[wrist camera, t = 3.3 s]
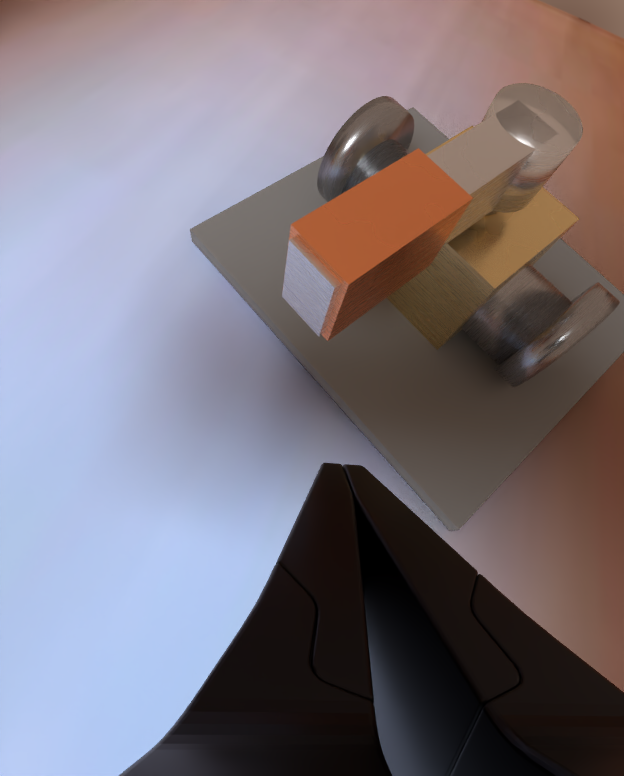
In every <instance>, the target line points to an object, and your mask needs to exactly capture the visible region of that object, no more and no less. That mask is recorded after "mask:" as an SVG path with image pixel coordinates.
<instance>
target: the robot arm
mask: <svg viewBox="0 0 624 776" xmlns="http://www.w3.org/2000/svg"><path fill="white" fill-rule="evenodd" d="M477 574H478V572H477V570H476V569H474V568H473V567H472V566H471V565H470V564H469V563H468V562H467V561H466V560H465V559H464V558H463V557H461V556H460V555H459V554H458V553H457V552H456V551H455V550H454V549H453V548H452V547H451V546H449V545H448V544H447V543H446V542H445V541H444V540H443V539H442V538H441V537H440V536H439V535H437V534H436V533H435V532H434V531H433V530H432V529H431V528H430V527H429V526H428V525H427V524H425V523H424V522H423V521H422V520H421V519H420V518H419V517H418V516H417V515H416V514H415V513H413V512H412V511H411V510H410V509H409V508H408V507H407V506H406V505H405V504H404V503H403V502H401V501H400V500H399V499H398V498H397V497H396V496H395V495H394V494H393V493H392V492H391V491H389V490H388V489H387V488H386V487H385V486H384V485H383V484H382V483H381V482H380V481H379V480H377V479H376V478H375V477H374V476H373V475H372V474H371V473H370V472H369V471H368V470H367V469H365V468H364V467H363V466H360V465H343V467H342V465H341V464H333V463H323V464H322V465H321V467H320V469H319V471H318V474H317V476H316V478H315V480H314V482H313V484H312V487H311V489H310V491H309V493H308V495H307V497H306V500H305V502H304V504H303V506H302V508H301V510H300V513H299V515H298V517H297V519H296V521H295V523H294V526H293V528H292V530H291V532H290V534H289V536H288V539H287V541H286V543H285V545H284V547H283V549H282V552H281V554H280V556H279V558H278V560H277V562H276V565H275V566H274V568H273V570H272V573H271V575H270V577H269V579H268V581H267V583H266V585H265V587H264V589H263V591H262V593H261V595H260V597H259V599H258V600H257V602H256V604H255V606H254V607H253V609H252V611H251V612H250V614H249V616H248V617H247V619H246V620H245V622H244V624H243V625H242V627H241V629H240V630H239V632H238V633H237V635H236V636H235V637H234V639H233V640H232V642H231V643H230V645H229V646H228V648H227V649H226V651H225V652H224V654H223V655H222V657H221V658H220V660H219V661H218V663H217V664H216V666H215V667H214V669H213V670H212V672H211V673H210V675H209V676H208V678H207V679H206V681H205V682H204V684H203V685H202V687H201V688H200V690H199V691H198V693H197V694H196V695H195V697H194V698H193V700H192V701H191V703H190V704H189V706H188V707H187V708H186V710H185V711H184V713H183V714H182V715H181V716H180V718H179V719H178V720H177V722H176V723H175V724H174V726H173V727H172V728H171V729H170V730H169V731H168V733H167V734H166V735H165V736H164V737H163V738H162V739H161V740H160V741H159V742H158V743H157V744H156V745H155V746H154V747H153V748H152V749H151V750H150V751H149V752H147V753H146V754H145V755H144V756H143V757H141V758H140V759H139V760H138V761H136V762H135V763H134V764H133V765H131V766H130V767H129V768H128V769H127V770H125V771H124V772H123V773H122V774H120V775H119V776H624V692H622V691H621V690H620V689H619V688H617V687H616V686H615V685H614V684H612V683H611V682H610V681H609V680H607V679H606V678H605V677H603V676H602V675H601V674H600V673H598V672H597V671H596V670H595V669H593V668H592V667H591V666H590V665H588V664H587V663H586V662H585V661H583V660H582V659H581V658H579V657H578V656H577V655H576V654H574V653H573V652H572V651H571V650H569V649H568V648H567V647H566V646H564V645H563V644H562V643H561V642H559V641H558V640H557V639H556V638H554V637H553V636H552V635H551V634H549V633H548V632H547V631H546V630H545V629H543V628H542V627H541V626H540V625H538V624H537V623H536V622H535V621H534V620H532V619H531V618H530V617H529V616H527V615H526V614H525V613H524V612H523V611H521V610H520V609H519V608H518V607H517V606H516V605H515V604H514V603H512V602H511V601H510V600H509V599H508V598H507V597H506V596H504V595H503V594H502V593H501V592H500V591H499V590H498V589H497V588H495V587H494V586H493V585H492V584H491V583H490V582H489V581H488V580H487V579H486V578H485V577H483V576H482V575H481V574H478V575H477Z"/></svg>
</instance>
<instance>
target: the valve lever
mask: <svg viewBox="0 0 624 776" xmlns="http://www.w3.org/2000/svg"><path fill="white" fill-rule="evenodd" d="M582 133H583V128H582V123H581V120H580V117H579V115H578V114H577V112H576V111H575V109H574V108H573V107H572V106H571V105H570V104H569V103H568V102H567V101H566V100H565V99H564V98H562V97H561V96H559V95H558V94H556V93H555V92H553V91H551V90H549V89H546V88H544V87H541V86H538V85H533V84H526V83H518V84H512V85H508V86H506V87H504V88H503V89H501V90H500V91H499V92H498V93H497V95H496V96H495V98H494V100H493V102H492V104H491V106H490V107H489V109H488V111H487V113H486V115H485V117H484V118H483V120H482V122H481V123H480V124H478V125H476V126H475V127H473V128H471V129H470V130H468V131H467V132H465V133H463V134H462V135H460V136H458V137H457V138H455V139H453V140H452V141H450V142H449V143H447V144H445V145H444V146H442V147H440V148H439V149H437V150H435V151H434V152H432V153H431V154H429V155H425V154H424V153H423V152H422V151H421V150H420V149H419V148H418V149H416V150H414V151H413V152H411V153H409V154H408V155H406V156H404V157H403V158H401V159H399V160H398V161H396V162H394V163H393V164H391V165H389V166H388V167H386V168H384V169H383V170H381V171H379V172H378V173H376V174H374V175H373V176H371V177H369V178H368V179H366V180H364V181H363V182H361V183H359V184H357V185H356V186H354V187H352V188H351V189H349V190H347V191H346V192H344V193H342V194H341V195H339V196H337V197H336V198H334V199H332V200H331V201H329V202H327V203H326V204H324V205H322V206H321V207H319V208H317V209H316V210H314V211H312V212H311V213H309V214H307V215H306V216H304V217H302V218H301V219H299V220H297V221H296V222H294V223H292V224H291V227H290V235H289V243H288V251H287V259H286V267H285V275H284V283H283V291H282V297H283V298H284V299H285V300H286V301H287V303H288V304H289V305H290V306H291V307H292V308H293V309H294V310H295V311H296V312H297V313H298V315H299V316H300V317H301V318H302V319H303V320H304V321H305V322H306V323H307V324H308V326H309V327H310V328H311V329H312V330H313V331H314V332H315V333H316V334H317V335H318V336H321V335H322V336H323V337H324V338H325V339H326V340H327V341H329V340H330V339H331V338H333V337H334V336H336V335H337V334H338V333H340V332H341V331H342V330H344V329H345V328H346V327H348V326H349V325H350V324H352V323H353V322H354V321H356V320H357V319H358V318H360V317H361V316H363V315H364V314H365V313H367V312H368V311H369V310H371V309H372V308H373V307H375V306H376V305H377V304H379V303H380V302H381V301H383V300H384V299H386V298H387V297H388V296H390V295H391V294H392V293H394V292H395V291H396V290H398V289H399V288H400V287H402V286H403V285H404V284H406V283H407V282H408V281H410V280H411V279H413V278H414V277H415V276H417V275H418V274H419V273H421V272H422V271H423V270H425V269H426V268H427V267H429V266H430V265H431V264H432V262H433V260H434V259H435V257H436V256H437V254H438V252H439V251H440V249H441V248H442V247H443V246H444V245H446V244H447V243H448V242H450V241H451V240H452V239H454V238H455V237H456V236H458V235H459V234H461V233H462V232H463V231H465V230H466V229H467V228H469V227H470V226H472V225H473V224H474V223H476V222H477V221H478V220H480V219H481V218H483V217H484V216H485V215H487V214H488V213H489V212H491V211H496V212H502V213H511V212H516V211H519V210H522V209H523V208H525V207H526V206H527V205H528V204H529V203H530V202H531V201H532V199H533V198H534V197H535V196H536V194H537V193H538V192H539V191H540V189H541V188H542V187H543V186H544V184H545V183H546V182H547V181H548V179H549V178H550V177H551V176H552V174H553V173H554V172H555V171H556V170H557V168H558V167H559V166H560V165H561V163H562V162H563V161H564V160H565V158H566V157H567V156H568V155H569V153H570V152H571V151H572V150H573V148H574V147H575V146H576V145H577V144H578V142H579V141H580V139H581V137H582Z"/></svg>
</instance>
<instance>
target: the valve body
mask: <svg viewBox="0 0 624 776" xmlns="http://www.w3.org/2000/svg"><path fill="white" fill-rule="evenodd" d="M471 128H473V126H471V127H469V128H467V129H466V130H464V131H462V132H461V133H459V134H458V135H456V136H454V137H453V138H451V139H449V140H448V141H446V142H444V143H443V144H441V145H439V146H438V147H436V148H435V149H433V150H431V151H430V152H428V153H426V154H425V155H429V154H431V153H432V152H434V151H435V150H437V149H439V148H440V147H442V146H444V145H445V144H447V143H449V142H450V141H452V140H453V139H455V138H457V137H458V136H460V135H462V134H463V133H465V132H467V131H468V130H470V129H471ZM413 133H414V119H413V116H412V115H411V114H410V113H409V112H408V111H407V110H406V109H405V108H403V107H402V106H401V105H400V104H399V103H398V102H397V101H396V100H394V99H393V98H392V97H388V96H382V97H378V98H376V99H373V100H371V101H370V102H368V103H366V104H365V105H364V106H362V107H361V108H360V109H359V110H357V111H356V112H355V113H354V114H353V115H352V116H351V117H350V118H349V119H348V120H347V121H346V123H345V124H344V125H343V126H342V127H341V129H340V130H339V131H338V133H337V134H336V136H335V137H334V139H333V140H332V142H331V144H330V145H329V147H328V149H327V151H326V153H325V155H324V157H323V160H322V162H321V165H320V168H319V173H318V179H317V187H318V191H319V193H320V195H321V196H322V197H323V198H324V199H325V200H326V201H327V202H329V201H331V200H332V199H334V198H336V197H337V196H339V195H341V194H342V193H344V192H346V191H347V190H349V189H351V188H352V187H354V186H356V185H357V184H359V183H361V182H363V181H364V180H366V179H368V178H369V177H371V176H373V175H374V174H376V173H378V172H379V171H381V170H383V169H384V168H386V167H388V166H389V165H391V164H393V163H394V162H396V161H398V160H399V159H401V158H403V157H404V156H406V155H408V154H409V152H408V148H409V146H410V143H411V141H412V137H413ZM578 220H579V218H578V217H577V216H575V215H574V214H573V213H572V212H571V211H570V210H568V209H567V208H566V207H565V206H564V205H563V204H562V203H560V202H559V201H558V200H557V199H556V198H555V197H554V196H552V195H551V194H550V193H549V192H548V191H547V190H545V189H544V188H543V187H542V188H541V189H540V191H539V192H538V193H537V194H536V196H535V197H534V198H533V199H532V201H531V202H530V203H529V204H528V205H527V206H526V207H525V208H523V209H522V210H519V211H516V212H511V213H502V212H496V211H491V212H489V213H488V214H487V215H485V216H484V217H483V218H481V219H480V220H478V221H477V222H476V223H474V224H473V225H472V226H470V227H469V228H467V229H466V230H465V231H463V232H462V233H461V234H459V235H458V236H456V237H455V238H454V239H452V240H451V241H450V242H448V243H447V244H446V245H444V246H443V247H442V248H441V249H440V251H439V252H438V254H437V256H436V257H435V259H434V260H433V262H432V264H431V265H430V266H429V267H427V268H426V269H425V270H423V271H422V272H421V273H419V274H418V275H417V276H415V277H414V278H413V279H411V280H410V281H408V282H407V283H406V284H404V285H403V286H402V287H400V288H399V289H398V290H396V291H395V292H394V293H392V294H391V295H390V296H388V297H387V299H388V300H389V301H390V302H391V303H392V304H393V305H394V306H395V307H396V308H397V309H398V310H399V311H400V312H401V313H402V314H403V316H404V317H405V318H406V319H407V320H408V321H409V322H410V323H411V324H412V325H413V326H414V327H415V328H416V329H417V330H418V331H419V332H420V333H421V334H422V335H423V336H424V337H425V338H426V339H427V340H428V341H429V342H430V343H431V344H432V345H433V346H434V347H435V348H436V349H437V350H438V349H439V348H440V347H442V346H443V345H444V344H445V343H446V342H447V341H449V340H450V339H451V338H452V337H453V336H455V335H456V334H457V333H458V332H459V331H460V330H462V329H463V330H464V331H465V332H466V333H467V334H468V335H469V336H470V337H471V338H472V339H473V340H474V341H475V342H476V343H477V344H478V345H479V346H480V347H481V348H482V349H483V350H484V351H485V352H486V353H487V354H488V355H489V356H490V357H491V358H492V359H493V360H494V361H495V362H496V363H497V364H498V365H497V366H496V367H495V370H496V371H497V372H498V373H499V374H500V375H501V376H502V377H503V378H504V379H505V380H506V381H507V382H508V383H509V384H510V385H511V386H512V387H516V386H518V385H520V384H522V383H524V382H526V381H527V380H529V379H531V378H532V377H534V376H535V375H537V374H538V373H539V372H541V371H542V370H544V369H545V368H547V367H548V366H549V365H551V364H552V363H553V362H555V361H556V360H557V359H559V358H560V357H561V356H563V355H564V354H565V353H566V352H568V351H569V350H570V349H571V348H573V347H574V346H575V345H576V344H578V343H579V342H580V341H581V340H582V339H584V338H585V337H586V336H587V335H588V334H590V333H591V332H592V331H593V330H594V329H595V328H596V327H597V326H599V325H600V324H601V323H602V322H603V321H604V320H605V319H606V318H607V317H608V316H609V315H610V314H611V313H612V312H613V311H614V310H615V309H616V308H617V306H618V305H619V303H620V301H619V300H618V299H617V298H616V297H615V296H613V295H612V294H611V293H610V292H609V291H608V290H607V289H606V288H604V287H603V286H602V285H601V284H600V283H599V282H597V283H595V284H594V285H592V286H591V287H589V288H588V289H586V290H585V291H584V292H582V293H581V294H580V295H578V296H577V297H576V298H574V299H573V300H572V301H570V300H569V299H568V298H567V297H566V296H565V295H564V294H563V293H561V292H560V291H559V290H558V289H557V288H556V287H555V286H554V285H553V284H552V283H551V282H550V281H548V280H547V279H546V278H545V277H544V276H543V275H542V274H541V273H540V272H539V271H538V270H536V269H535V268H534V267H533V265H534V264H535V263H536V262H537V261H538V260H539V259H540V258H541V257H542V256H543V255H544V254H545V253H546V252H547V251H548V250H549V249H550V248H551V247H552V246H553V245H554V244H555V243H556V242H557V241H558V240H559V239H560V238H561V237H562V236H563V235H564V234H565V233H566V232H567V231H568V230H569V229H570V228H571V227H572V226H573V225H574V224H575V223H576V222H577V221H578Z"/></svg>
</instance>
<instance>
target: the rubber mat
mask: <svg viewBox="0 0 624 776" xmlns="http://www.w3.org/2000/svg"><path fill="white" fill-rule="evenodd" d="M407 111H408V112H409V113H410V114H411V115H412V116H413V119H414V133H413V137H412V141H411V143H410V146H409V148H408V152H409V153H411V152H413V151H414V150H416V149H418V148H419V149H420V150H421V151H422V152H423V153H424V154H426V153H428V152H430V151H431V150H433V149H435V148H436V147H438V146H439V145H441V144H443V143H444V142H446V141H448V140H449V139H448V138H447V137H446V136H445V135H444V134H443V133H441V132H440V131H439V130H438V129H437V128H436V127H435V126H434V125H432V124H431V123H430V122H429V121H428V120H427V119H426V118H425V117H423V116H422V115H421V114H420V113H419V112H418V111H417V110H416V109H414V108H411V109H409V110H407ZM323 157H324V156H323ZM323 157H321V158H319V159H318V160H316V161H314V162H312V163H310V164H308V165H307V166H305V167H303V168H301V169H299V170H297V171H296V172H294V173H292V174H290V175H288V176H286V177H285V178H283V179H281V180H279V181H277V182H276V183H274V184H272V185H270V186H268V187H266V188H265V189H263V190H261V191H259V192H257V193H255V194H254V195H252V196H250V197H248V198H246V199H244V200H243V201H241V202H239V203H237V204H235V205H233V206H232V207H230V208H228V209H226V210H224V211H223V212H221V213H219V214H217V215H215V216H213V217H212V218H210V219H208V220H206V221H204V222H202V223H201V224H199V225H197V226H195V227H193V228H191V229H190V232H191V238H192V242H193V243H194V244H195V245H196V246H197V247H198V248H199V249H200V251H201V252H202V253H203V254H204V255H205V256H206V257H207V258H208V260H209V261H210V262H211V263H212V264H213V265H214V266H215V267H216V269H217V270H218V271H219V272H220V273H221V274H222V275H223V276H224V278H225V279H226V280H227V281H228V282H229V283H230V284H231V285H232V286H233V288H234V289H235V290H236V291H237V292H238V293H239V294H240V295H241V297H242V298H243V299H244V300H245V301H246V302H247V303H248V304H249V306H250V307H251V308H252V309H253V310H254V311H255V312H256V313H257V315H258V316H259V317H260V318H261V319H262V320H263V321H264V322H265V324H266V325H267V326H268V327H269V328H270V329H271V330H272V331H273V333H274V334H275V335H276V336H277V337H278V338H279V339H280V340H281V342H282V343H283V344H284V345H285V346H286V347H287V348H288V349H289V351H290V352H291V353H292V354H293V355H294V356H295V357H296V358H297V360H298V361H299V362H300V363H301V364H302V365H303V366H304V367H305V369H306V370H307V371H308V372H309V373H310V374H311V375H312V376H313V378H314V379H315V380H316V381H317V382H318V383H319V384H320V385H321V387H322V388H323V389H324V390H325V391H326V392H327V393H328V394H329V396H330V397H331V398H332V399H333V400H334V401H335V402H336V403H337V405H338V406H339V407H340V408H341V409H342V410H343V411H344V412H345V414H346V415H347V416H348V417H349V418H350V419H351V420H352V421H353V423H354V424H355V425H356V426H357V427H358V428H359V429H360V430H361V432H362V433H363V434H364V435H365V436H366V437H367V438H368V439H369V441H370V442H371V443H372V444H373V445H374V446H375V447H376V448H377V450H378V451H379V452H380V453H381V454H382V455H383V456H384V457H385V458H386V460H387V461H388V462H389V463H390V464H391V465H392V466H393V467H394V469H395V470H396V471H397V472H398V473H399V474H400V475H401V476H402V478H403V479H404V480H405V481H406V482H407V483H408V484H409V485H410V487H411V488H412V489H413V490H414V491H415V492H416V493H417V494H418V496H419V497H420V498H421V499H422V500H423V501H424V502H425V503H426V505H427V506H428V507H429V508H430V509H431V510H432V511H433V512H434V514H435V515H436V516H437V517H438V518H439V519H440V520H441V521H442V523H443V524H444V525H445V526H446V527H447V528H448V529H449V530H450V531H452V530H459V529H460V528H461V527H462V526H463V525H464V524H465V523H466V522H467V521H468V519H469V518H470V517H471V516H472V515H473V514H474V513H475V512H476V511H477V510H478V509H479V508H480V506H481V505H482V504H483V503H484V502H485V501H486V500H487V499H488V498H489V497H490V496H491V495H492V494H493V492H494V491H495V490H496V489H497V488H498V487H499V486H500V485H501V484H502V483H503V482H504V481H505V480H506V478H507V477H508V476H509V475H510V474H511V473H512V472H513V471H514V470H515V469H516V468H517V467H518V465H519V464H520V463H521V462H522V461H523V460H524V459H525V458H526V457H527V456H528V455H529V454H530V453H531V451H532V450H533V449H534V448H535V447H536V446H537V445H538V444H539V443H540V442H541V441H542V440H543V438H544V437H545V436H546V435H547V434H548V433H549V432H550V431H551V430H552V429H553V428H554V427H555V426H556V424H557V423H558V422H559V421H560V420H561V419H562V418H563V417H564V416H565V415H566V414H567V413H568V411H569V410H570V409H571V408H572V407H573V406H574V405H575V404H576V403H577V402H578V401H579V400H580V399H581V397H582V396H583V395H584V394H585V393H586V392H587V391H588V390H589V389H590V388H591V387H592V386H593V385H594V383H595V382H596V381H597V380H598V379H599V378H600V377H601V376H602V375H603V374H604V373H605V372H606V370H607V369H608V368H609V367H610V366H611V365H612V364H613V363H614V362H615V361H616V360H617V359H618V358H619V356H620V355H621V354H622V353H623V352H624V294H622V293H621V292H620V291H619V290H618V289H617V288H616V287H615V286H613V285H612V284H611V283H610V282H609V281H608V280H607V279H606V278H604V277H603V276H602V275H601V274H600V273H599V272H598V271H597V270H595V269H594V268H593V267H592V266H591V265H590V264H589V263H588V262H586V261H585V260H584V259H583V258H582V257H581V256H580V255H579V254H577V253H576V252H575V251H574V250H573V249H572V248H571V247H570V246H568V245H567V244H566V243H565V242H564V241H563V240H562V239H561V238H560V239H559V240H558V241H557V242H556V243H555V244H554V245H553V246H552V247H551V248H550V249H549V250H548V251H547V252H546V253H545V254H544V255H543V256H542V257H541V258H540V259H539V260H538V261H537V262H536V263H535V264H534V265H533V267H534V268H535V269H536V270H538V271H539V272H540V273H541V274H542V275H543V276H544V277H545V278H546V279H547V280H548V281H550V282H551V283H552V284H553V285H554V286H555V287H556V288H557V289H558V290H559V291H560V292H561V293H563V294H564V295H565V296H566V297H567V298H568V299H569V300H570V301H572V300H573V299H574V298H576V297H577V296H578V295H580V294H581V293H582V292H584V291H585V290H586V289H588V288H589V287H591V286H592V285H594V284H595V283H597V282H599V283H600V284H601V285H602V286H603V287H604V288H606V289H607V290H608V291H609V292H610V293H611V294H612V295H613V296H615V297H616V298H617V299H618V300H619V301H620V303H619V305H618V306H617V308H616V309H615V310H614V311H613V312H612V313H611V314H610V315H609V316H608V317H607V318H606V319H605V320H604V321H603V322H602V323H601V324H600V325H599V326H597V327H596V328H595V329H594V330H593V331H592V332H591V333H590V334H588V335H587V336H586V337H585V338H584V339H582V340H581V341H580V342H579V343H578V344H576V345H575V346H574V347H573V348H571V349H570V350H569V351H568V352H566V353H565V354H564V355H563V356H561V357H560V358H559V359H557V360H556V361H555V362H553V363H552V364H551V365H549V366H548V367H547V368H545V369H544V370H542V371H541V372H539V373H538V374H537V375H535V376H534V377H532V378H531V379H529V380H527V381H526V382H524V383H522V384H520V385H518V386H516V387H512V386H511V385H510V384H509V383H508V382H507V381H506V380H505V379H504V378H503V377H502V376H501V375H500V374H499V373H498V372H497V371H496V370H495V367H496V366H497V365H498V364H497V363H496V362H495V361H494V360H493V359H492V358H491V357H490V356H489V355H488V354H487V353H486V352H485V351H484V350H483V349H482V348H481V347H480V346H479V345H478V344H477V343H476V342H475V341H474V340H473V339H472V338H471V337H470V336H469V335H468V334H467V333H466V332H465V331H464V330H463V329H462V330H460V331H459V332H458V333H457V334H456V335H455V336H453V337H452V338H451V339H450V340H449V341H447V342H446V343H445V344H444V345H443V346H442V347H440V348H439V349H438V350H437V349H436V348H435V347H434V346H433V345H432V344H431V343H430V342H429V341H428V340H427V339H426V338H425V337H424V336H423V335H422V334H421V333H420V332H419V331H418V330H417V329H416V328H415V327H414V326H413V325H412V324H411V323H410V322H409V321H408V320H407V319H406V318H405V317H404V316H403V314H402V313H401V312H400V311H399V310H398V309H397V308H396V307H395V306H394V305H393V304H392V303H391V302H390V301H389V300H388V299H387V298H386V299H384V300H383V301H381V302H380V303H379V304H377V305H376V306H375V307H373V308H372V309H371V310H369V311H368V312H367V313H365V314H364V315H363V316H361V317H360V318H358V319H357V320H356V321H354V322H353V323H352V324H350V325H349V326H348V327H346V328H345V329H344V330H342V331H341V332H340V333H338V334H337V335H336V336H334V337H333V338H331V339H330V340H329V341H327V340H326V339H325V338H324V337H323V336H322V335H321V336H318V335H317V334H316V333H315V332H314V331H313V330H312V329H311V328H310V327H309V326H308V324H307V323H306V322H305V321H304V320H303V319H302V318H301V317H300V316H299V315H298V313H297V312H296V311H295V310H294V309H293V308H292V307H291V306H290V305H289V304H288V303H287V301H286V300H285V299H284V298H283V297H282V291H283V283H284V275H285V267H286V259H287V251H288V243H289V235H290V227H291V224H292V223H294V222H296V221H297V220H299V219H301V218H302V217H304V216H306V215H307V214H309V213H311V212H312V211H314V210H316V209H317V208H319V207H321V206H322V205H324V204H326V203H327V201H326V200H325V199H324V198H323V197H322V196H321V195H320V193H319V191H318V187H317V179H318V173H319V168H320V165H321V162H322V160H323Z"/></svg>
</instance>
